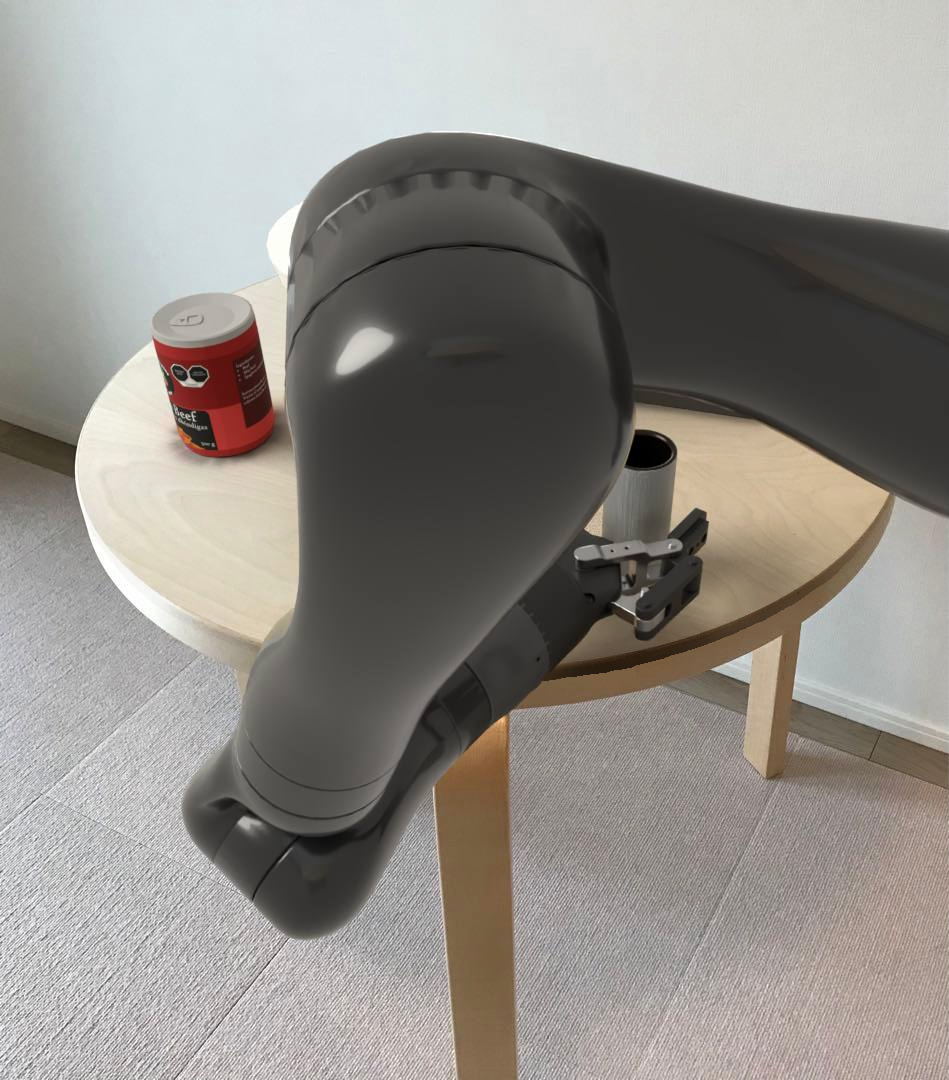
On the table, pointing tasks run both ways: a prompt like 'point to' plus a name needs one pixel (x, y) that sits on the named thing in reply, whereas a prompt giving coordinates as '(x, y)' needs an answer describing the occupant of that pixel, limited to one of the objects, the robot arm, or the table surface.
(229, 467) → the table surface
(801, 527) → the table surface
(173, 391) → the canned food
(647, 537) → the planter
